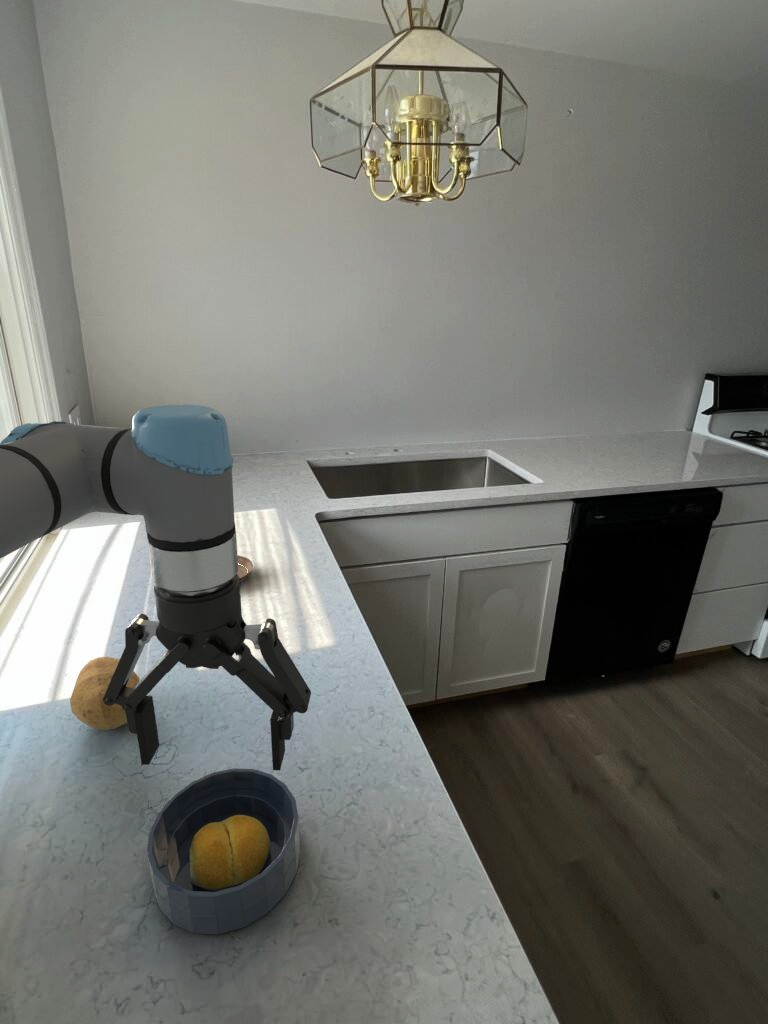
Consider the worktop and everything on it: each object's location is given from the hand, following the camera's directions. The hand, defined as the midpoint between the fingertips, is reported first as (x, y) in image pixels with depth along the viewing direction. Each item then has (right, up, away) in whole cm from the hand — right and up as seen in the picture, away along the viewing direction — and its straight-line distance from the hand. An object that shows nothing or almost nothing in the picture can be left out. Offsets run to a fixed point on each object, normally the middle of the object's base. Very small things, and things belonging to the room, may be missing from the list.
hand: (214, 757), depth 59 cm
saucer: (-20, +10, +71) cm, 75 cm away
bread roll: (0, -14, +5) cm, 15 cm away
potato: (-24, -6, +27) cm, 37 cm away
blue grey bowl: (0, -15, +5) cm, 15 cm away
